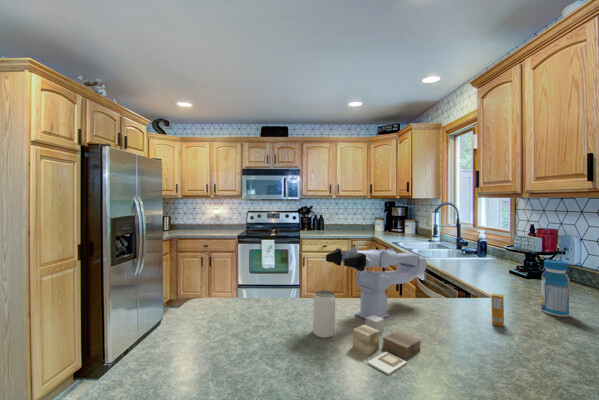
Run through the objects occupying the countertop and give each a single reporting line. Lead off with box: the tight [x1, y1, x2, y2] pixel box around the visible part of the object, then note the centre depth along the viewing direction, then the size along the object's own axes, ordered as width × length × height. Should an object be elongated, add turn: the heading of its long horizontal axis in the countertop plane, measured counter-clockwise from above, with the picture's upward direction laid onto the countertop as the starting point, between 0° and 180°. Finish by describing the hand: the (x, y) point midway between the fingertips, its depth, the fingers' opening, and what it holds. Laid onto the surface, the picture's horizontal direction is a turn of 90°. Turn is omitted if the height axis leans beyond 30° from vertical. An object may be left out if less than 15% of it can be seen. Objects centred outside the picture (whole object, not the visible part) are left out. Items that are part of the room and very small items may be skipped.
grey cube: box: [364, 315, 385, 334], centre depth 89 cm, size 4×4×4 cm
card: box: [366, 351, 407, 376], centre depth 70 cm, size 8×6×1 cm
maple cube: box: [352, 324, 380, 356], centre depth 78 cm, size 5×5×5 cm
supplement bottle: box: [540, 259, 571, 317], centre depth 110 cm, size 8×8×20 cm
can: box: [312, 290, 336, 339], centre depth 86 cm, size 6×6×12 cm
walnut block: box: [382, 330, 421, 359], centre depth 78 cm, size 7×7×3 cm
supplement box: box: [491, 293, 505, 328], centre depth 97 cm, size 3×3×10 cm
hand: (335, 260), depth 89 cm, fingers open, 7 cm apart
